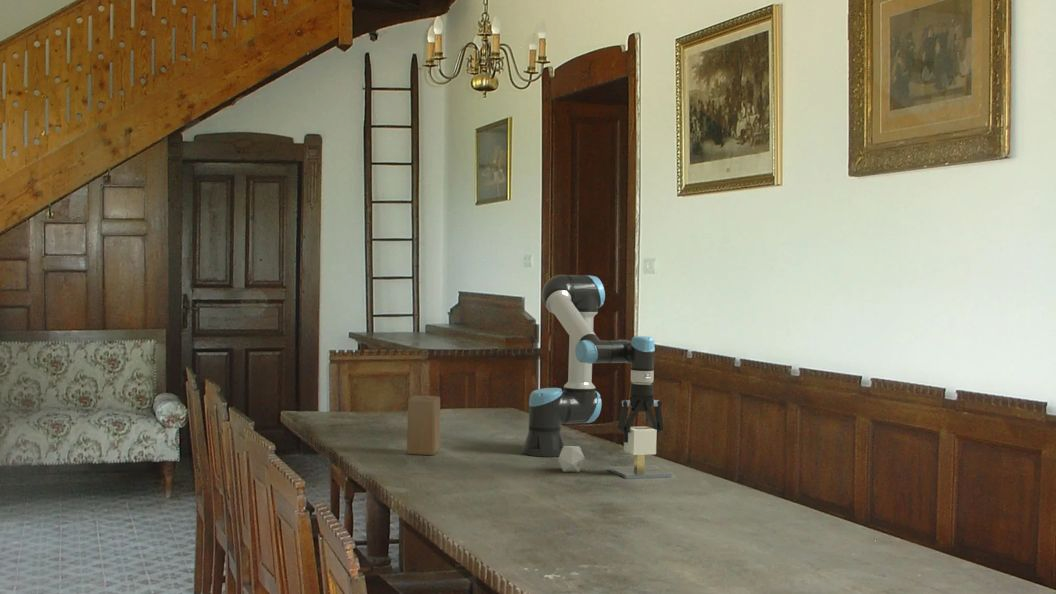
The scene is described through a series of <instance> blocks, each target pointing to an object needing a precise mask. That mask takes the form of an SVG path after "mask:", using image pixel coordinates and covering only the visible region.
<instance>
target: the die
mask: <svg viewBox="0 0 1056 594" xmlns="http://www.w3.org/2000/svg"><path fill="white" fill-rule="evenodd" d="M584 460H585V455H584V453H583V451H582V449H581V447H580V446H576V445H575V446H574V445H569V446H568V445H564V446H563V449H562V451H561V453H560V456H558V460H557V461H558V463H559V465H560V467H561V470H562V472H565V473H567V472H569V473H570V472H571V473H579V472H580V470H581V469H582V466H583V465H584Z"/></svg>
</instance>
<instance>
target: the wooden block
mask: <svg viewBox="0 0 1056 594" xmlns="http://www.w3.org/2000/svg"><path fill="white" fill-rule="evenodd" d="M440 421H441V397H440V396H438V395H419V394H418V395H417V394H416V395H415V394H414V395H413V396H411V397H409V398H408V401H407V430H406V431H407V432H406V433H407V434H406V437H407V438H406V441H407V442H406V453H407V455H411V456H412V455H415V456H419V455H420V456H434V455H436V454H437V453H438V452H439V450H440V428H441V427H440V425H441V423H440Z"/></svg>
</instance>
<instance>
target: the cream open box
mask: <svg viewBox="0 0 1056 594" xmlns="http://www.w3.org/2000/svg"><path fill="white" fill-rule="evenodd" d="M629 433H631V448H630V453H629V454H630V455H633V456H634V455H645V456H647V455H656V454H657V442H656V438H657V430H655V429H652V427H651V426H631V428H630V430H629ZM657 439H658V438H657ZM623 451H624V452H625V442H623Z"/></svg>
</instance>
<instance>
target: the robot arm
mask: <svg viewBox="0 0 1056 594" xmlns="http://www.w3.org/2000/svg"><path fill="white" fill-rule="evenodd" d="M541 298H542V303H543V305H544V307H545V308H546V309H547V311H548V312H550V313H551V314H554V315H555V317H556V319H557V320H558V321H559V323H560V324H561V326H562V327H563V329H564V330H565V331H566V333H567V334H568V336H569V337H568V338H569V341H568V344H569V345H568V372H567V373H568V374H567V375H568V379H567V382H566V383H565V384H564V385H563V390H562V388H561V387H560V388H559V387H545V388H539V389H535V390H532V391H531V392H530V395H529V400H528V432H527V435H526V438H525V441H524V444H523V448H522V453H523V454H524V455H528V456H533V457H543V458H545V457H547V458H549V457H551V458H552V457H559V456H560V453H561V451H562V449H563V446H565V444H564V440H563V436H562V431H561V430H562V427H561V426H562V424H563V425H570V424H586V423H587V424H590V423H593V422H595V421H596V420H597V418H598V417H599V416H600V413H601V411H602V398H601V394H600V393H599V392H598V391H597V390H596V386H595V384H594V383H593V382H592V380H593V379H592V377H593V376H592V375H593V364H623V363H624V364H630V382H631V384H630V387H629V388H630V389H629V390H630V391H629V396H630V397H629V399H628V400H627V399H626V400H623V399H622V400H621V401H620V405H621V408H620V409H621V410H620V414H619V420H618V424H617V430H618V431H621V432H622V441H623V443H624V442H625V451H624V452H625V453H627V454H630V448H631V433H629V430H630V428H631V427H632V425H633V423H634V421H635V419H636V416H637V414H638V413H639V412H644V413H645V416H646V418H647V420H648V423H649V425H650V426H649V427H652V429H655V430H657V438H656V443H657V442H658V435H659V434H658V433H660V431H663V430H664V423H663V416H662V402H663V401H662V400H659V399H654V384H653V383H654V378H655V377H654V373H655V371H654V368H655V351H656V348H655V339H654V337H653V336H647V335H645V336H644V335H635V336H633V337H632V338H631V340H628V339H618V340H610V339H609V340H607V339H606V340H604V339H602V340H601V339H599V337H598V336H597V334H596V333H595V331H594V318H595V316H596V315H598V313H599V309H600V308H601V307H602V306H603V305H604V303H605V299H606V291H605V287H604V284H603V283H602V281H601V280H600V278H599V277H598V276H594V275H588V274H584V275H583V274H557V275H554V276H552V277H550V278H549V279H548V280H547V281H546V282H545V284H544V286H543V288H542V290H541ZM629 406H631V409H630V411H629V415H628V410H629V409H628V408H629ZM652 406H653V407H654V414H653V411H652V408H651V407H652ZM654 415H655V418H654Z"/></svg>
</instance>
